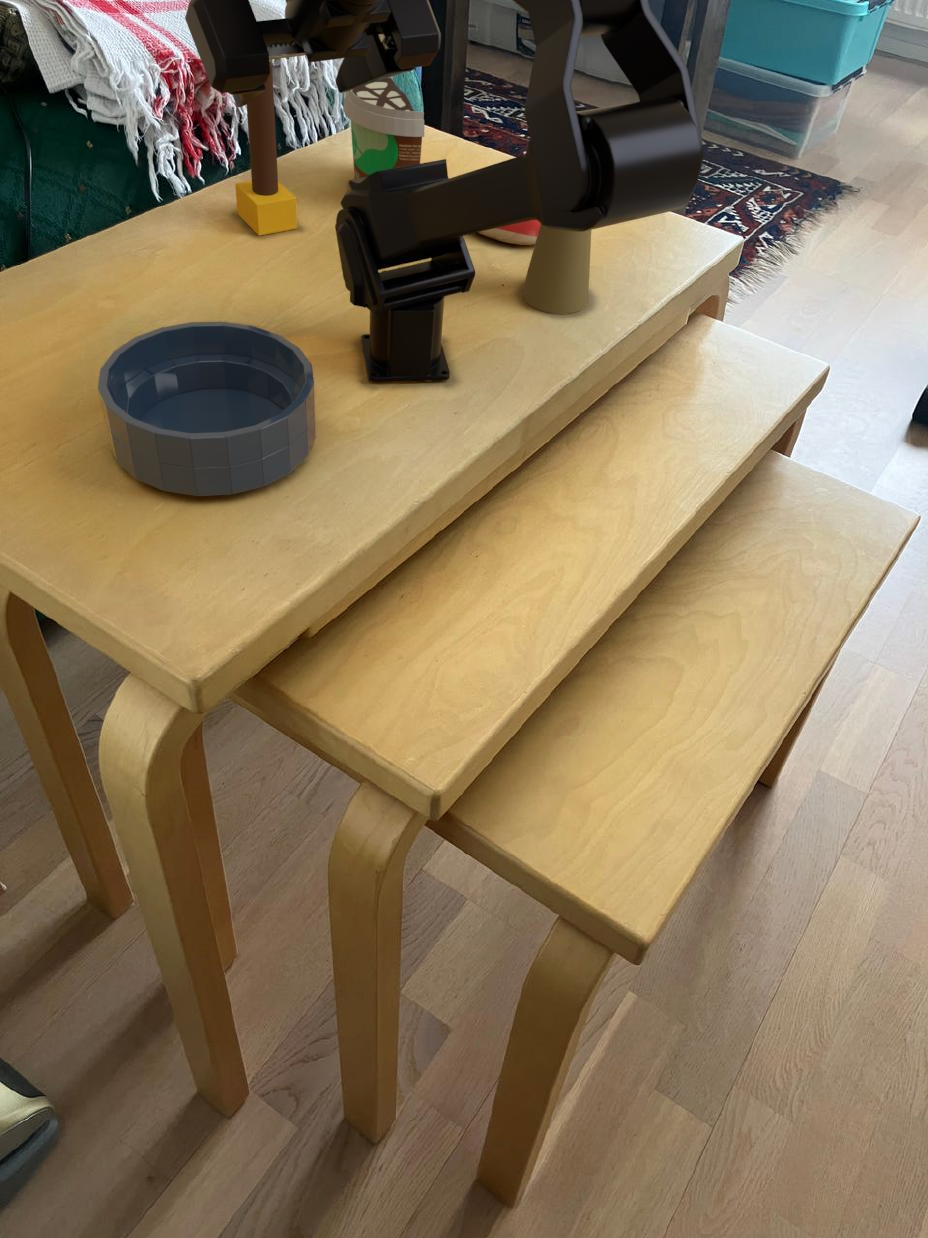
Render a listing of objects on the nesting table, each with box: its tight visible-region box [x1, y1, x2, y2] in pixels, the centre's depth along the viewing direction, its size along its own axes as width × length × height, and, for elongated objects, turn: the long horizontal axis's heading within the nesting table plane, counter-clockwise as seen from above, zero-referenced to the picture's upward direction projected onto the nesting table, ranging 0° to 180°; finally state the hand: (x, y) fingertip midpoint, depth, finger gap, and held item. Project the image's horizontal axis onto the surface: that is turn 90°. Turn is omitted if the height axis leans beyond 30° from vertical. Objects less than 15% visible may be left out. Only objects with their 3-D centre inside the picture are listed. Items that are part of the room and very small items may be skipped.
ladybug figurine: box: [477, 220, 541, 246], centre depth 99 cm, size 7×10×4 cm
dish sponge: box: [234, 60, 298, 237], centre depth 93 cm, size 5×4×14 cm
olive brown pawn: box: [521, 225, 592, 315], centre depth 88 cm, size 6×6×11 cm
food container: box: [342, 76, 425, 179], centre depth 100 cm, size 12×6×10 cm, turn 17°
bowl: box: [97, 321, 317, 497], centre depth 71 cm, size 14×14×6 cm
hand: (289, 93), depth 83 cm, fingers open, 9 cm apart
